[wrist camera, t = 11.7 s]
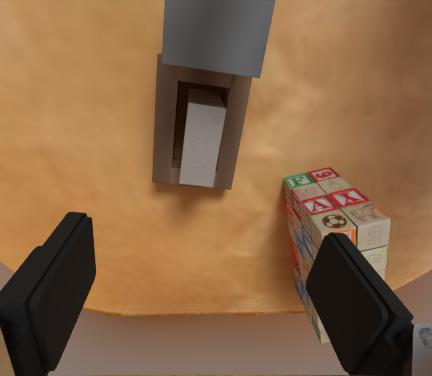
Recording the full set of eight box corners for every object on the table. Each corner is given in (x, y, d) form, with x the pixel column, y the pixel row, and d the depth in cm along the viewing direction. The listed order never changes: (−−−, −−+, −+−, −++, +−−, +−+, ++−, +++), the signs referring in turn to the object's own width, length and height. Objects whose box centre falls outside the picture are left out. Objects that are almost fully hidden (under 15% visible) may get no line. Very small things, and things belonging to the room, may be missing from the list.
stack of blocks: (333, 281, 44) (379, 358, 33) (295, 290, 44) (329, 368, 33) (329, 165, 34) (394, 219, 23) (282, 176, 34) (323, 235, 24)
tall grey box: (217, 92, 29) (226, 108, 21) (207, 153, 32) (212, 187, 24) (189, 88, 29) (188, 102, 21) (182, 150, 32) (179, 183, 24)
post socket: (261, -6, 25) (304, -41, 16) (227, 178, 34) (242, 230, 24) (164, -24, 24) (145, -75, 14) (155, 171, 33) (139, 223, 23)
